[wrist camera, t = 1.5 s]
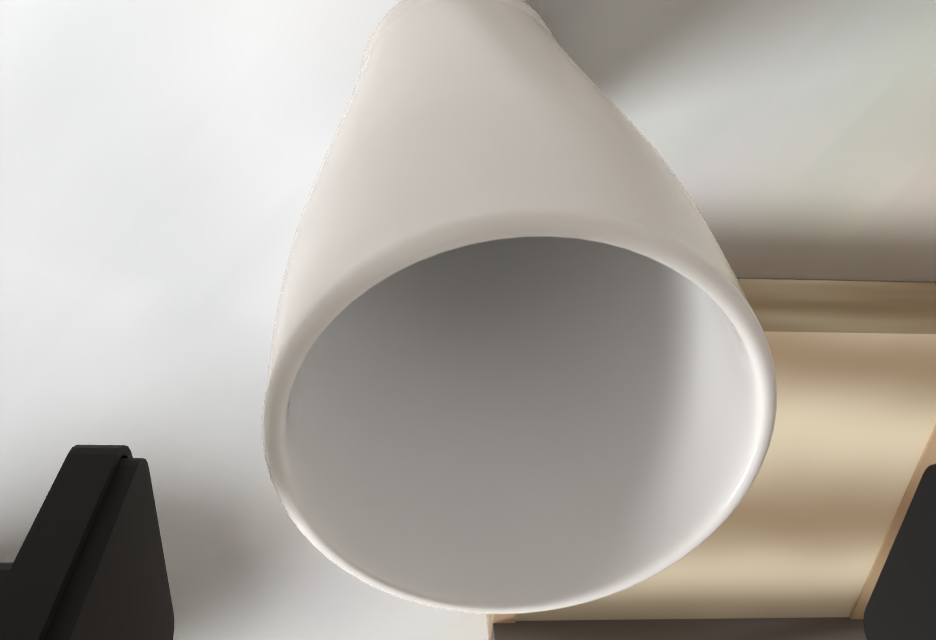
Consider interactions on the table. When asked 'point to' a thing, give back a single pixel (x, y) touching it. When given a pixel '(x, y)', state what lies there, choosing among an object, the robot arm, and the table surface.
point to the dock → (798, 481)
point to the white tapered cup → (506, 332)
